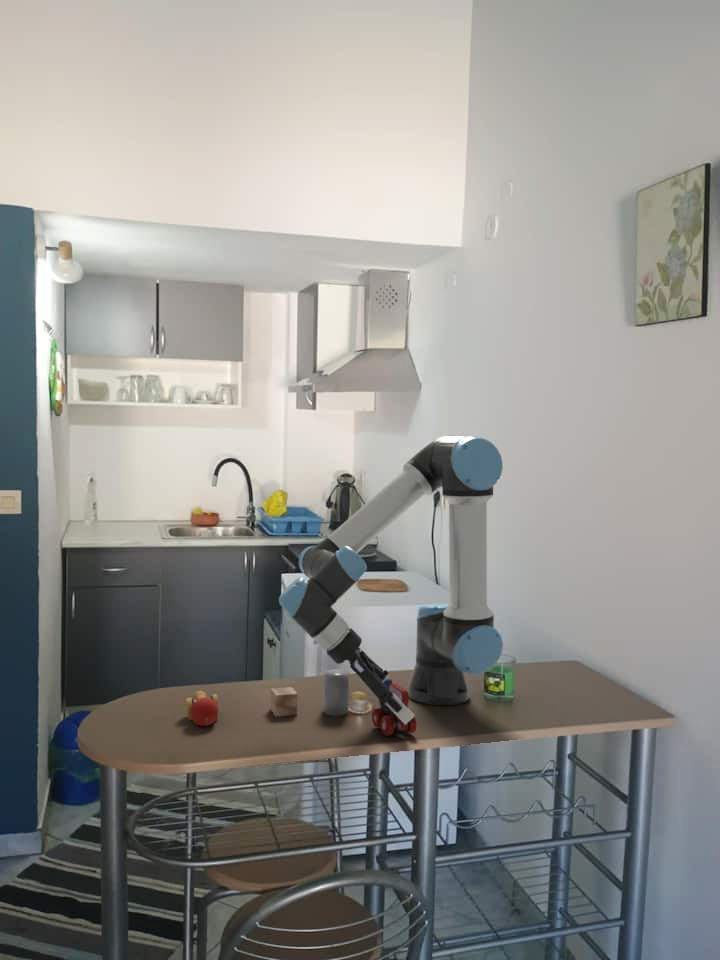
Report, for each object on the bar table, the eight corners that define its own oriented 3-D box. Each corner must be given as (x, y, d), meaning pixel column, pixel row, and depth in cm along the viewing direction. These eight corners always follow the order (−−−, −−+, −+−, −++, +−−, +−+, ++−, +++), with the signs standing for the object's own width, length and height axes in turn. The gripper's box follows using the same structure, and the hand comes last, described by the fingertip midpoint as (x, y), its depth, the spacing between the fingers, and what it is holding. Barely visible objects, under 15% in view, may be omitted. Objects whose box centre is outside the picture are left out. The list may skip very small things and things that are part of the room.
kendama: (179, 709, 195) (184, 726, 178) (185, 682, 196) (190, 696, 179) (212, 714, 197) (220, 730, 180) (217, 687, 198) (226, 701, 181)
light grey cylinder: (347, 707, 197) (349, 669, 197) (349, 715, 191) (350, 677, 191) (322, 706, 197) (323, 669, 196) (322, 715, 191) (324, 676, 190)
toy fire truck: (396, 718, 190) (397, 672, 189) (419, 737, 178) (421, 689, 177) (367, 721, 187) (369, 675, 186) (389, 741, 175) (391, 692, 175)
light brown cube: (291, 708, 195) (292, 687, 195) (296, 715, 191) (297, 693, 190) (270, 709, 194) (271, 688, 194) (275, 717, 189) (276, 695, 189)
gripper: (323, 637, 192) (387, 704, 194) (326, 667, 168) (400, 742, 170) (347, 614, 192) (411, 681, 194) (354, 641, 168) (427, 717, 170)
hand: (406, 710), depth 182 cm, fingers closed on toy fire truck, 11 cm apart
